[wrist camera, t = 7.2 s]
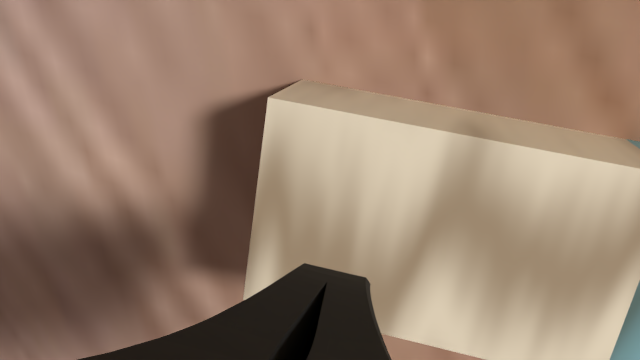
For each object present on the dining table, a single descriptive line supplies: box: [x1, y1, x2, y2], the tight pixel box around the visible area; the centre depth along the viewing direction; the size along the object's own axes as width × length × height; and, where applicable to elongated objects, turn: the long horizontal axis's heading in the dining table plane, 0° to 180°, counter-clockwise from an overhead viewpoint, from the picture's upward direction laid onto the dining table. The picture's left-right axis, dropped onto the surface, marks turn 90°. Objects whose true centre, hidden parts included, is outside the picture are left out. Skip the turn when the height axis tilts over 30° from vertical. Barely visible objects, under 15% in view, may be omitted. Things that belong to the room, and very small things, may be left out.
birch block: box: [243, 79, 640, 360], centre depth 16 cm, size 6×4×11 cm
